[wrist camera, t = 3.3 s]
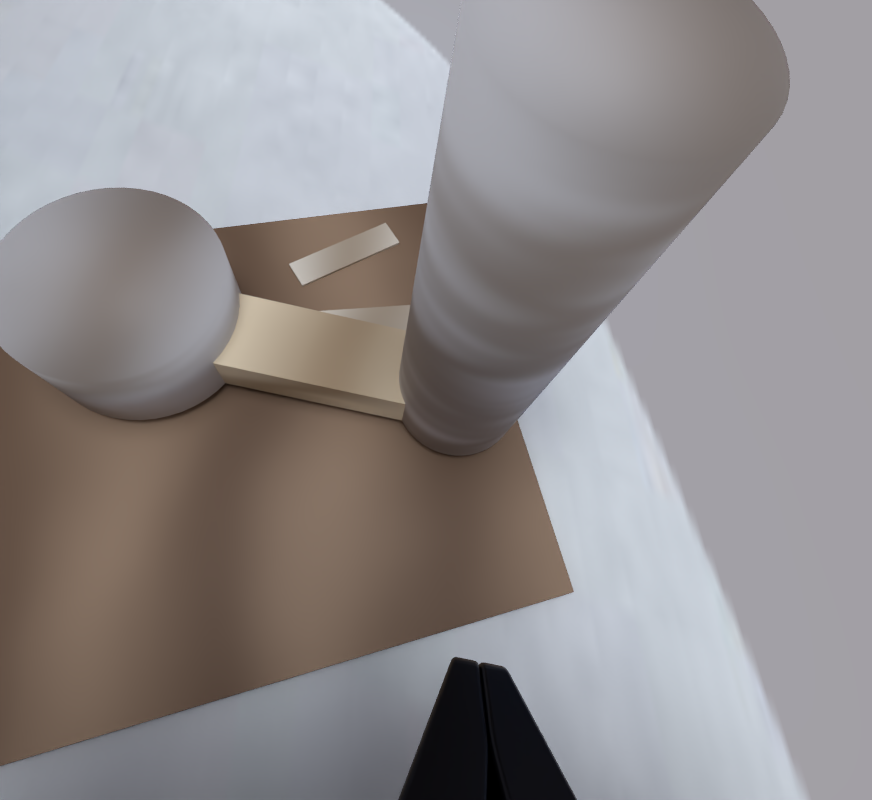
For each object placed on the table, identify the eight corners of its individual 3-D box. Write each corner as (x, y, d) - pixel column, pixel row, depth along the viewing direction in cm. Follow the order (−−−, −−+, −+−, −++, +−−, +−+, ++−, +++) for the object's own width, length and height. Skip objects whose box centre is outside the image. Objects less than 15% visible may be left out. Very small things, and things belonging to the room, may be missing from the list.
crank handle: (10, 396, 15) (-921, -139, 4) (95, 234, 18) (-365, -394, 6) (503, 497, 16) (813, 278, 5) (524, 331, 18) (772, -73, 7)
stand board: (-116, 799, 12) (-130, 805, 12) (-81, 270, 17) (-91, 262, 17) (569, 591, 16) (575, 591, 16) (444, 206, 21) (445, 199, 20)
